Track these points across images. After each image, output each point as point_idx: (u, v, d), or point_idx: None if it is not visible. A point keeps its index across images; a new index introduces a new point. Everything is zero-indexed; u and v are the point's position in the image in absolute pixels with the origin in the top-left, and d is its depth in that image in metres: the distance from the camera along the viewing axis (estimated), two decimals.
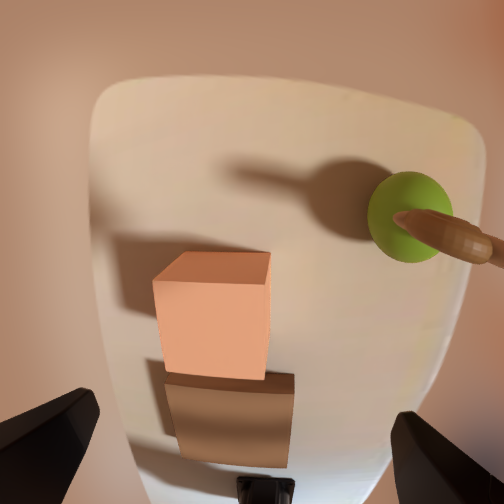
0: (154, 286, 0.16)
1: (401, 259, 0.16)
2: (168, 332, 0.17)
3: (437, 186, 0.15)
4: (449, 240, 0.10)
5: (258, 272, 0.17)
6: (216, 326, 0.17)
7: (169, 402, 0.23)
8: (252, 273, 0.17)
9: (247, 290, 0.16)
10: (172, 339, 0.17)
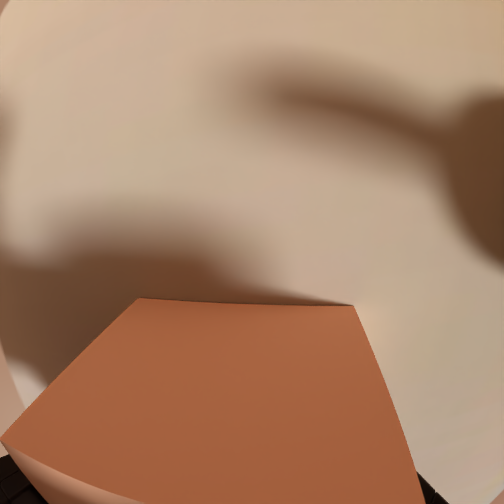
0: (11, 456, 0.03)
1: None
2: None
3: None
4: None
5: (368, 418, 0.04)
6: None
7: None
8: (349, 426, 0.04)
9: None
10: None
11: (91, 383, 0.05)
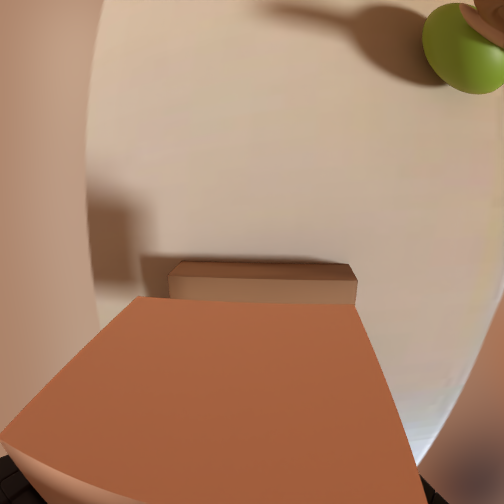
0: (9, 454, 0.03)
1: (472, 77, 0.10)
2: None
3: None
4: None
5: (369, 417, 0.04)
6: None
7: None
8: (350, 425, 0.04)
9: None
10: None
11: (90, 381, 0.05)
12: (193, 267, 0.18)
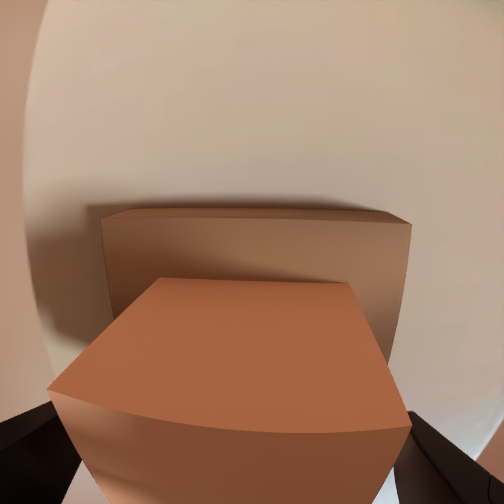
0: (56, 405, 0.04)
1: None
2: (118, 492, 0.05)
3: None
4: None
5: (361, 361, 0.05)
6: None
7: (110, 276, 0.10)
8: (346, 366, 0.05)
9: (353, 446, 0.04)
10: (130, 502, 0.05)
11: (128, 341, 0.06)
12: (145, 211, 0.11)
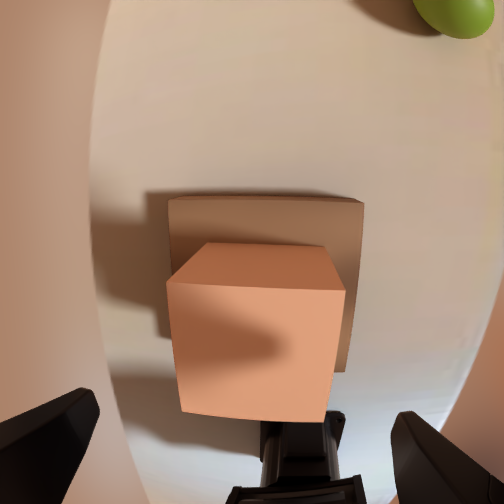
0: (169, 291, 0.11)
1: (457, 17, 0.10)
2: (188, 360, 0.11)
3: None
4: None
5: (324, 272, 0.12)
6: (264, 352, 0.11)
7: (171, 238, 0.16)
8: (316, 273, 0.12)
9: (318, 299, 0.10)
10: (193, 370, 0.11)
11: (203, 265, 0.12)
12: (195, 197, 0.17)
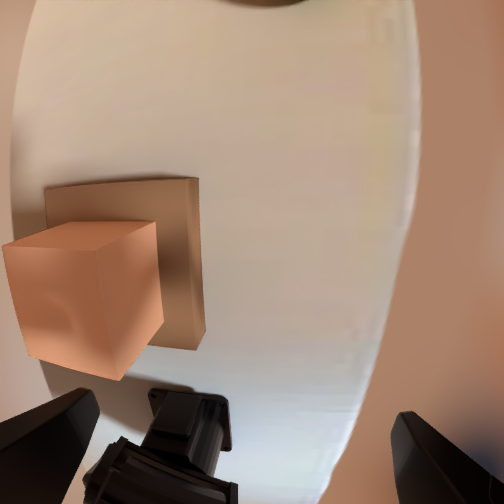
0: (3, 253, 0.11)
1: None
2: (21, 308, 0.12)
3: None
4: None
5: (108, 238, 0.12)
6: (57, 303, 0.12)
7: (48, 221, 0.17)
8: (100, 239, 0.12)
9: (78, 258, 0.11)
10: (25, 317, 0.12)
11: (38, 236, 0.13)
12: None
